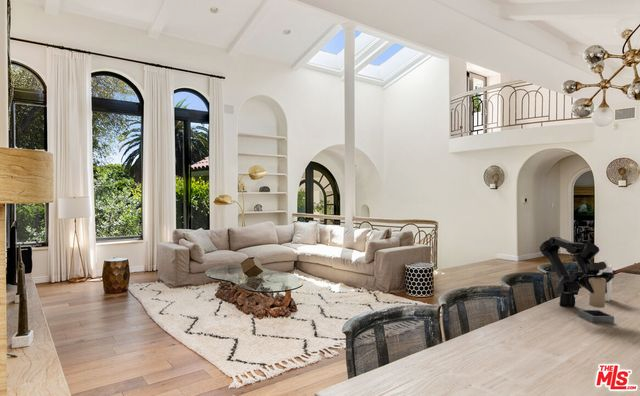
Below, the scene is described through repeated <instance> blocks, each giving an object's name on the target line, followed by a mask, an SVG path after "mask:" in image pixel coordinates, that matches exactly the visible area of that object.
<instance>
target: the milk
mask: <svg viewBox="0 0 640 396" xmlns="http://www.w3.org/2000/svg"><path fill="white" fill-rule="evenodd" d="M603 262H605V264H606V266H607V267H606V268H605V269H604V270H600V272H599V273H597V275H601V274H602V273H603V272H611V273H613V265H611V264H609V263H608V262H607V259H605V260H604V261H603ZM612 285H613V278H612V279H611V280H610V281H609V282H607V293H605V302H610V301H611V300H612V287H613V286H612Z"/></svg>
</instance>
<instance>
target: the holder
mask: <svg viewBox="0 0 640 396" xmlns="http://www.w3.org/2000/svg"><path fill="white" fill-rule="evenodd" d="M578 317H580V318H582V319H584V320H586V321H588V322H590V323H592V324H615V316H614V315H611V314H609V313H606V312H604V311H602V310H599V309H578Z"/></svg>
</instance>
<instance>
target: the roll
mask: <svg viewBox="0 0 640 396" xmlns="http://www.w3.org/2000/svg"><path fill="white" fill-rule="evenodd" d="M589 283H590V285H591V287H592V289H593V291H594V293H591V292H590V291H589V303H588V304H589V306H591V307H594V308H598V309H602V308H605V306H606V304H605V303H606V301H605V289H606V279H604V278H599V277H591V279H590V281H589Z"/></svg>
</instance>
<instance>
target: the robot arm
mask: <svg viewBox="0 0 640 396" xmlns="http://www.w3.org/2000/svg"><path fill="white" fill-rule="evenodd" d="M561 248H562V249H565V250H566V252H567V253H569V254H571V255H574V256H573V258H572V262H575V263H577V267H578V271H574V272H572V274H571V275H570V274H569V272H568V271H567V269H566V267H565V265H564V264H563V262H562V260H561V258H560V257H559V255H558V254H559V250H560V249H561ZM539 251H540V252H541V254H542V255H543V256H544V257H545V258H547V259H548V260H549V262H550V264H551V266H552V268H553V270H554V271H555V273H556V274H557V277H558V278H559V282H558V286H557V287H556V288H555V290H556V291H555V292H556V293H557V294H559V301H558V304H559V306H560V307H568V308H575V306H576V297H575V296H578V294H579V292H580V286H582V287H583V288H585V290H587V291H589V293H590V292H591V293H594V291H593V289H592V287H591V285H590V281H589V280H591V277H599V278H604V279H606V289H605V293H607V282H609V281H610V280H611V279H612V280H613V279H614V278H615V275H614V273H613V272H612V273H611V272H603V273H602V274H601V275H597V273H599V272H600V270H604V269H605V268H606V267H607V266H606V264H605V262H604V261H598V262H591V260H593V259H594V257H595V256H596V255H597V254H598V253H599V252H600V248H599V246H597V245H596V244H594V243H592V241H586V243H583V242H573V241H570V240H567V239H564V238H562V237H560V236H552V237H549V239H547V240H545V241H543V242H542V243H541V244H540V246H539Z"/></svg>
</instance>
